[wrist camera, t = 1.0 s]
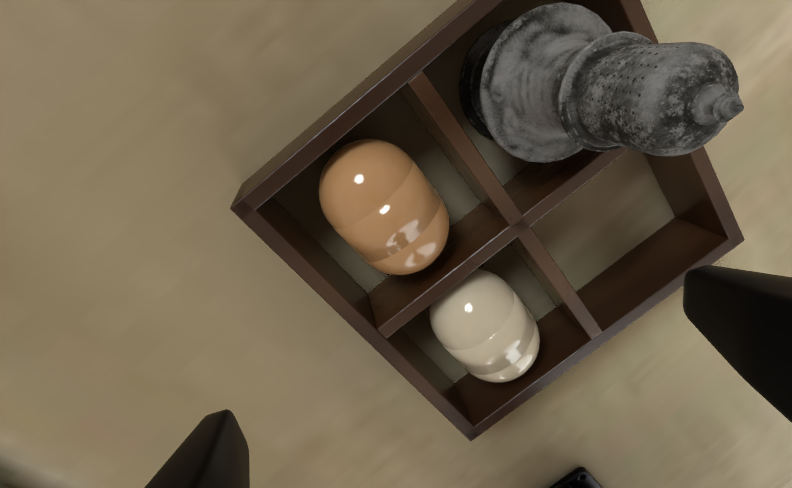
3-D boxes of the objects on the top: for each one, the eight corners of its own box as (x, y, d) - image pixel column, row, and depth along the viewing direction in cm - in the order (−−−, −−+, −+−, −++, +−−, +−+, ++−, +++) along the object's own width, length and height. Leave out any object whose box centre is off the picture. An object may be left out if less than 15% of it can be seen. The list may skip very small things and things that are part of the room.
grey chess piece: (429, 59, 20) (580, 59, 9) (545, -17, 20) (846, -111, 9) (487, 171, 22) (661, 277, 11) (591, 104, 22) (872, 148, 11)
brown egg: (451, 214, 23) (483, 247, 19) (383, 268, 23) (400, 312, 19) (371, 110, 20) (388, 123, 16) (296, 173, 21) (294, 201, 17)
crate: (690, 217, 26) (745, 240, 22) (451, 397, 27) (470, 442, 24) (546, -76, 19) (595, -104, 16) (240, 185, 21) (228, 208, 17)
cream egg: (531, 316, 26) (572, 363, 22) (469, 363, 27) (499, 417, 23) (470, 238, 24) (504, 274, 20) (403, 290, 24) (423, 337, 20)
